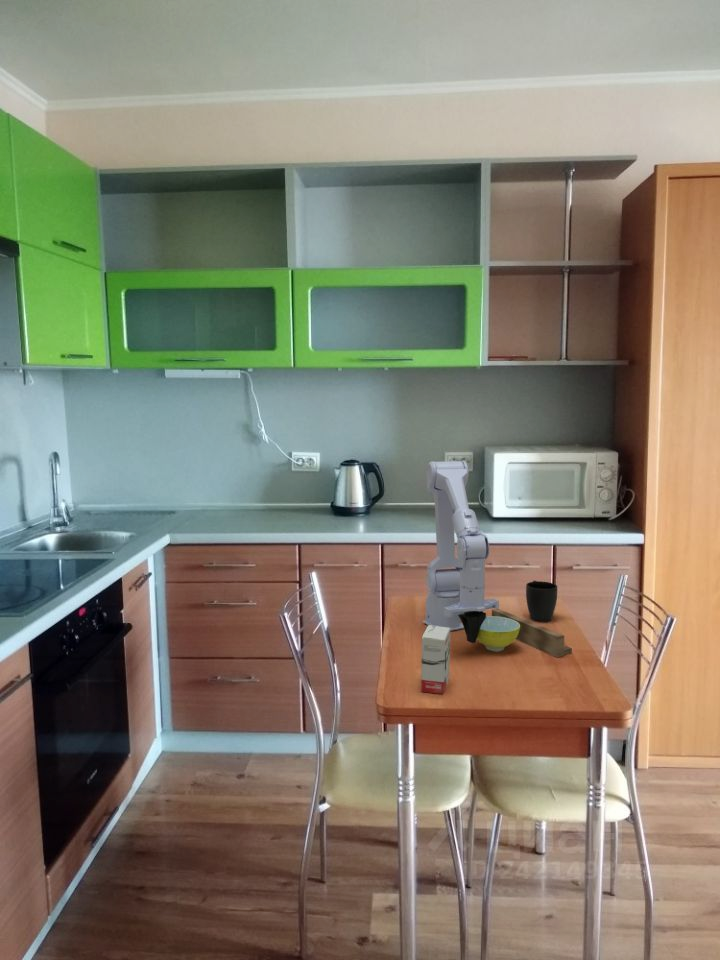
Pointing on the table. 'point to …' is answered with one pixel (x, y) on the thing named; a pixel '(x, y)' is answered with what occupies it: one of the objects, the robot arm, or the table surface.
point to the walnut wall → (537, 635)
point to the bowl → (498, 632)
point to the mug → (541, 600)
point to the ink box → (435, 659)
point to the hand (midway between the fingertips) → (471, 641)
